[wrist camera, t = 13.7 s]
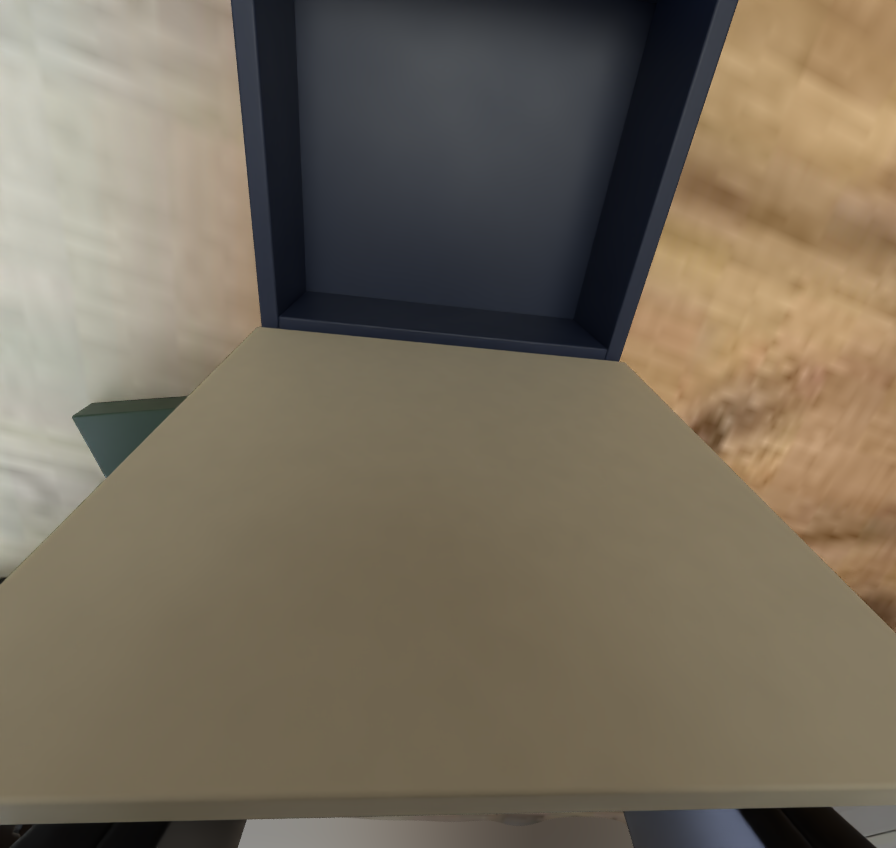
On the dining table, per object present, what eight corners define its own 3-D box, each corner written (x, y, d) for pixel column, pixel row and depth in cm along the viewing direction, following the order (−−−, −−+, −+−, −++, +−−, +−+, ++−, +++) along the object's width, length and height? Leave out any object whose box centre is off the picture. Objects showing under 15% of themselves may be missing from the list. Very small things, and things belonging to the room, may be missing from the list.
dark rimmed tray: (276, -87, 11) (209, -214, 8) (669, -9, 12) (768, -88, 9) (296, 299, 16) (261, 331, 12) (577, 329, 17) (618, 365, 14)
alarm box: (165, 544, 21) (129, 594, 19) (91, 402, 17) (32, 440, 15) (364, 528, 21) (356, 575, 19) (335, 384, 18) (320, 418, 15)
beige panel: (-226, 807, 3) (10, 931, 5) (1050, 785, 4) (815, 895, 6) (257, 326, 12) (271, 444, 14) (625, 361, 13) (586, 466, 15)
